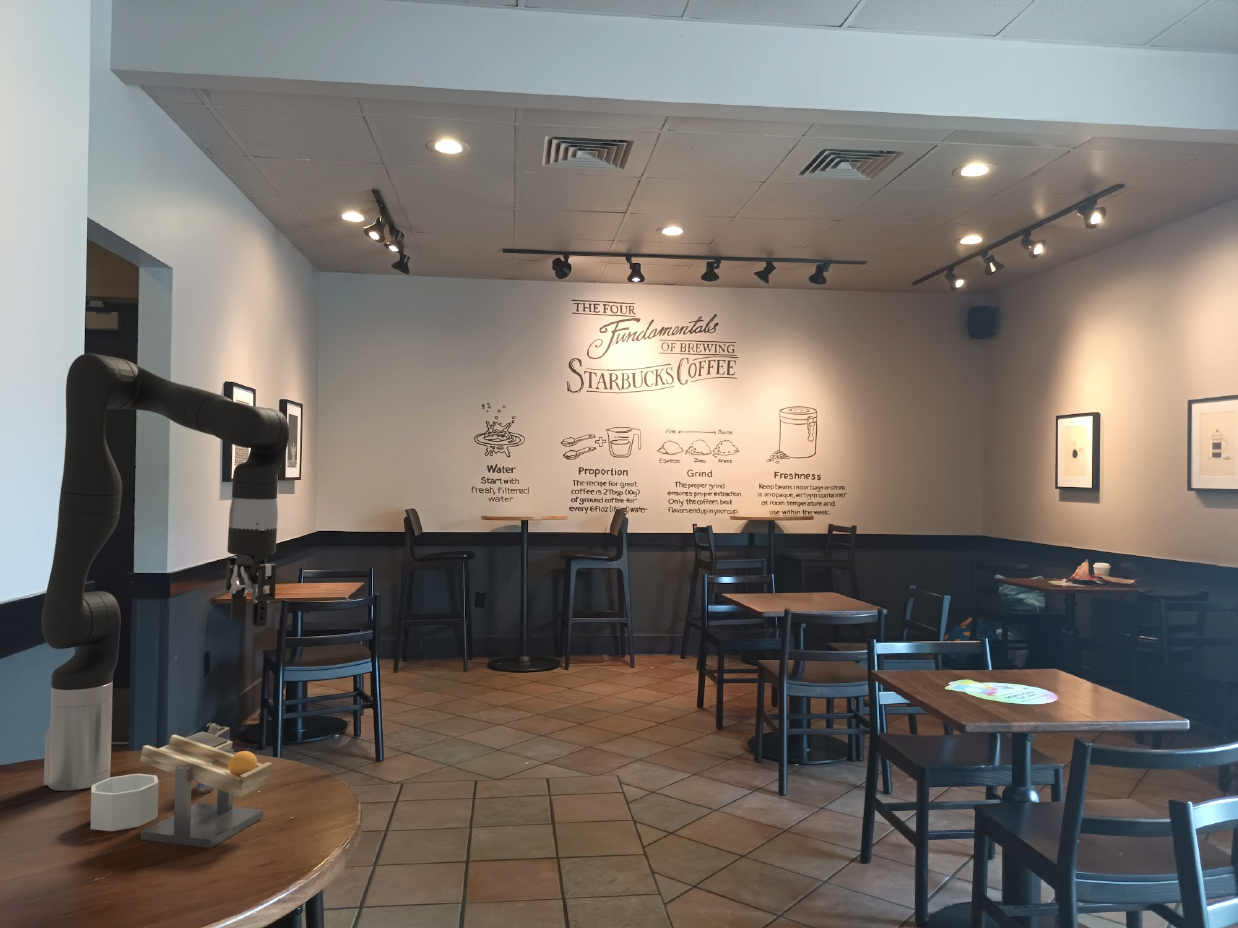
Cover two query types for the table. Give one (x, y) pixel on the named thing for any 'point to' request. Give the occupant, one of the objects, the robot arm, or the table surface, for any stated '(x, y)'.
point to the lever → (206, 763)
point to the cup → (124, 802)
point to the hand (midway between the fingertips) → (248, 622)
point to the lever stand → (200, 817)
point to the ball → (242, 763)
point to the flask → (219, 732)
